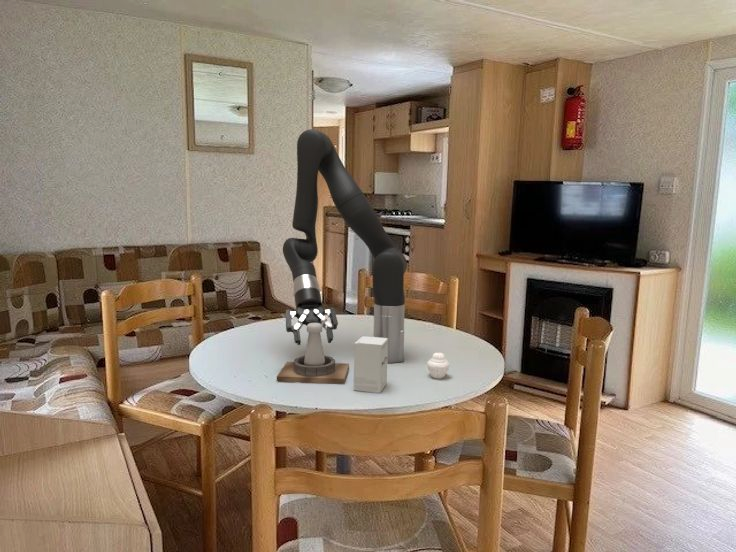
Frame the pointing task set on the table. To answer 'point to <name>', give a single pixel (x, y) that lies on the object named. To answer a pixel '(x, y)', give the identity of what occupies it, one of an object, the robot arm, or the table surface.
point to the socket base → (314, 372)
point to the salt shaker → (314, 346)
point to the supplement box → (370, 364)
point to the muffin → (438, 365)
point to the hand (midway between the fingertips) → (314, 342)
